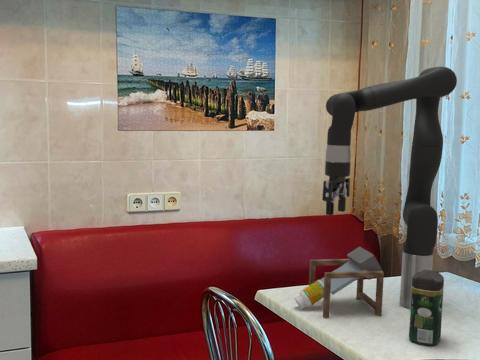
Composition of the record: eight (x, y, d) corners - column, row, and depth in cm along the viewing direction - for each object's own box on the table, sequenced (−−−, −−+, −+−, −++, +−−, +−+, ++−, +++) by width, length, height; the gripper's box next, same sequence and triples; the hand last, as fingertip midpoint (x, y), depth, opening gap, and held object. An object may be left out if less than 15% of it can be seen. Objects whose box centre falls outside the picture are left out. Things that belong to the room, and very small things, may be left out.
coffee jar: (412, 330, 151) (417, 266, 149) (442, 336, 147) (447, 270, 145) (405, 342, 143) (409, 274, 141) (436, 348, 139) (441, 279, 137)
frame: (360, 298, 178) (362, 258, 176) (381, 315, 162) (383, 272, 160) (308, 300, 174) (309, 259, 173) (324, 318, 159) (326, 273, 157)
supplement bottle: (325, 285, 164) (299, 302, 162) (330, 297, 166) (304, 314, 165) (316, 276, 168) (291, 293, 167) (321, 287, 171) (296, 304, 169)
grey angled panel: (367, 261, 174) (359, 246, 173) (383, 271, 163) (374, 255, 162) (323, 289, 173) (314, 274, 172) (336, 301, 161) (327, 285, 160)
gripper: (336, 158, 170) (334, 209, 172) (316, 160, 159) (313, 214, 161) (358, 160, 166) (356, 211, 168) (339, 162, 155) (337, 217, 156)
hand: (335, 213), depth 164 cm, fingers open, 8 cm apart
